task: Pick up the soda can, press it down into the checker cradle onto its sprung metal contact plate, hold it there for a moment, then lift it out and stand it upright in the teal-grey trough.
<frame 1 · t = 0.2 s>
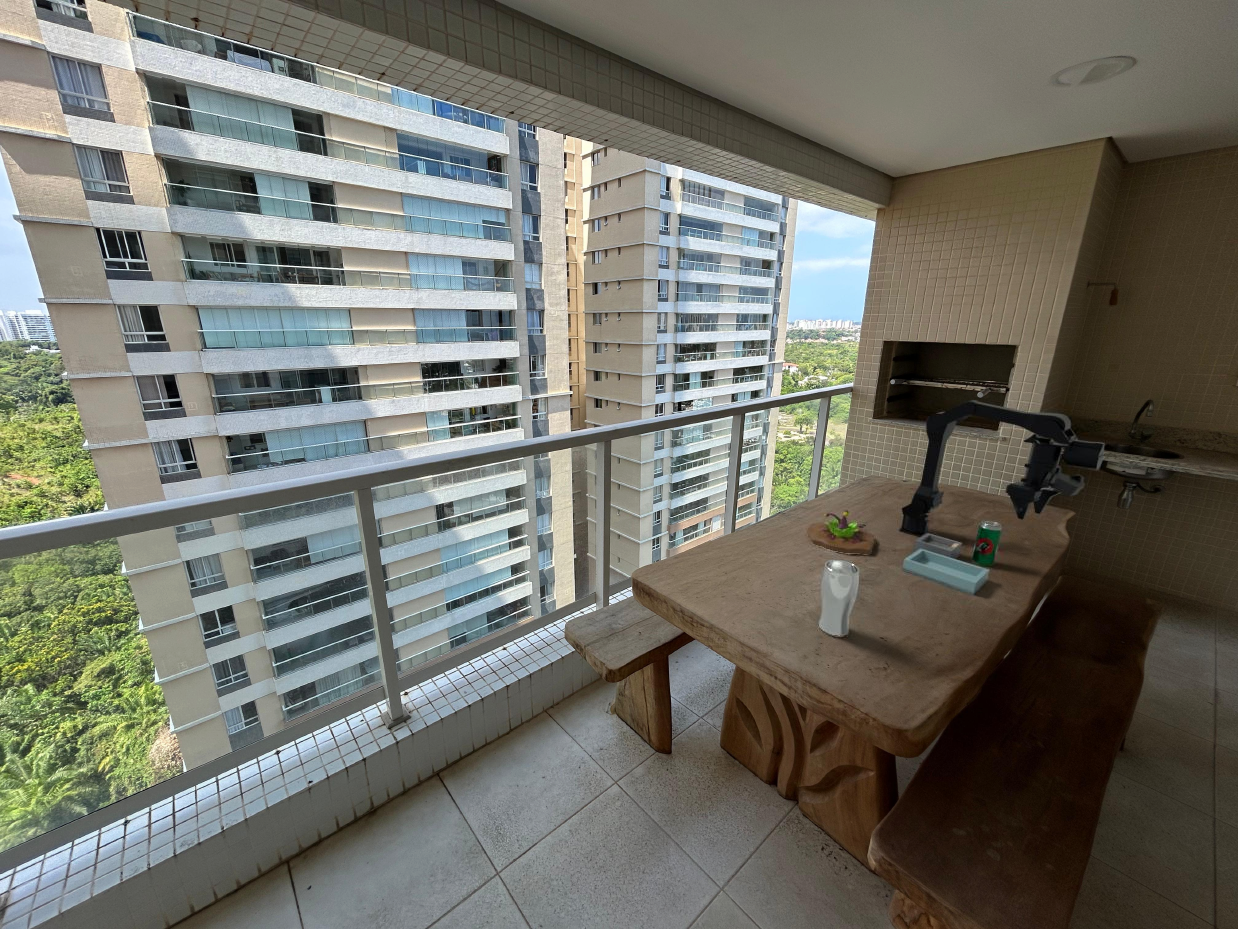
hand: (1029, 516, 124), 14 cm above the table, tool pointing down, fingers open, 9 cm apart
trough: (943, 575, 121), on the table
contact plate: (937, 548, 133), point 2 cm above the table, slide at 0.0 cm
beer glass: (833, 630, 99), on the table
checker cradle: (936, 554, 133), on the table
plant: (840, 542, 143), on the table
soda can: (982, 563, 128), on the table
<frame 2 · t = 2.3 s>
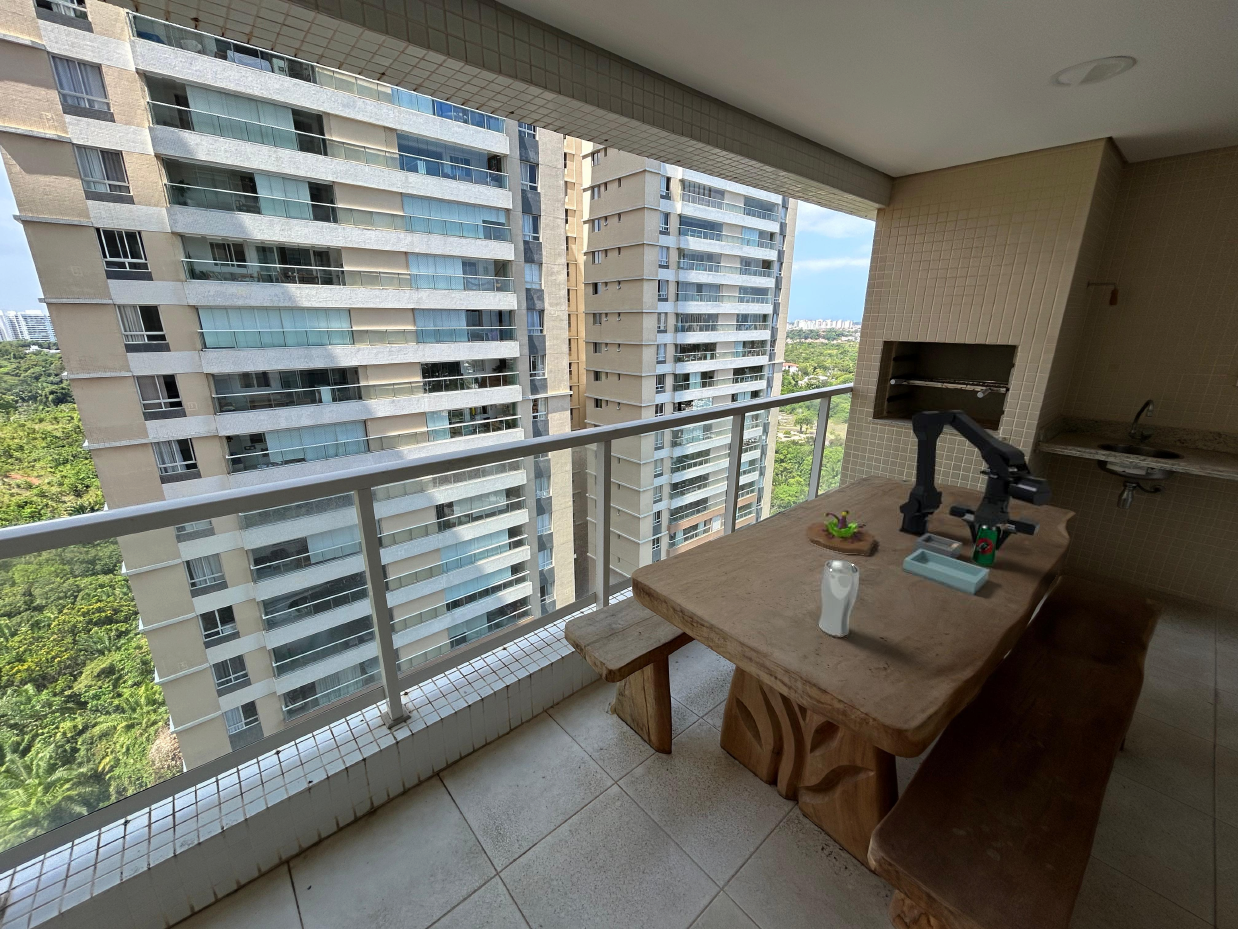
hand: (985, 546, 127), 5 cm above the table, tool pointing down, fingers closed on soda can, 5 cm apart
soda can: (982, 563, 128), on the table, touching gripper
everything else where it was.
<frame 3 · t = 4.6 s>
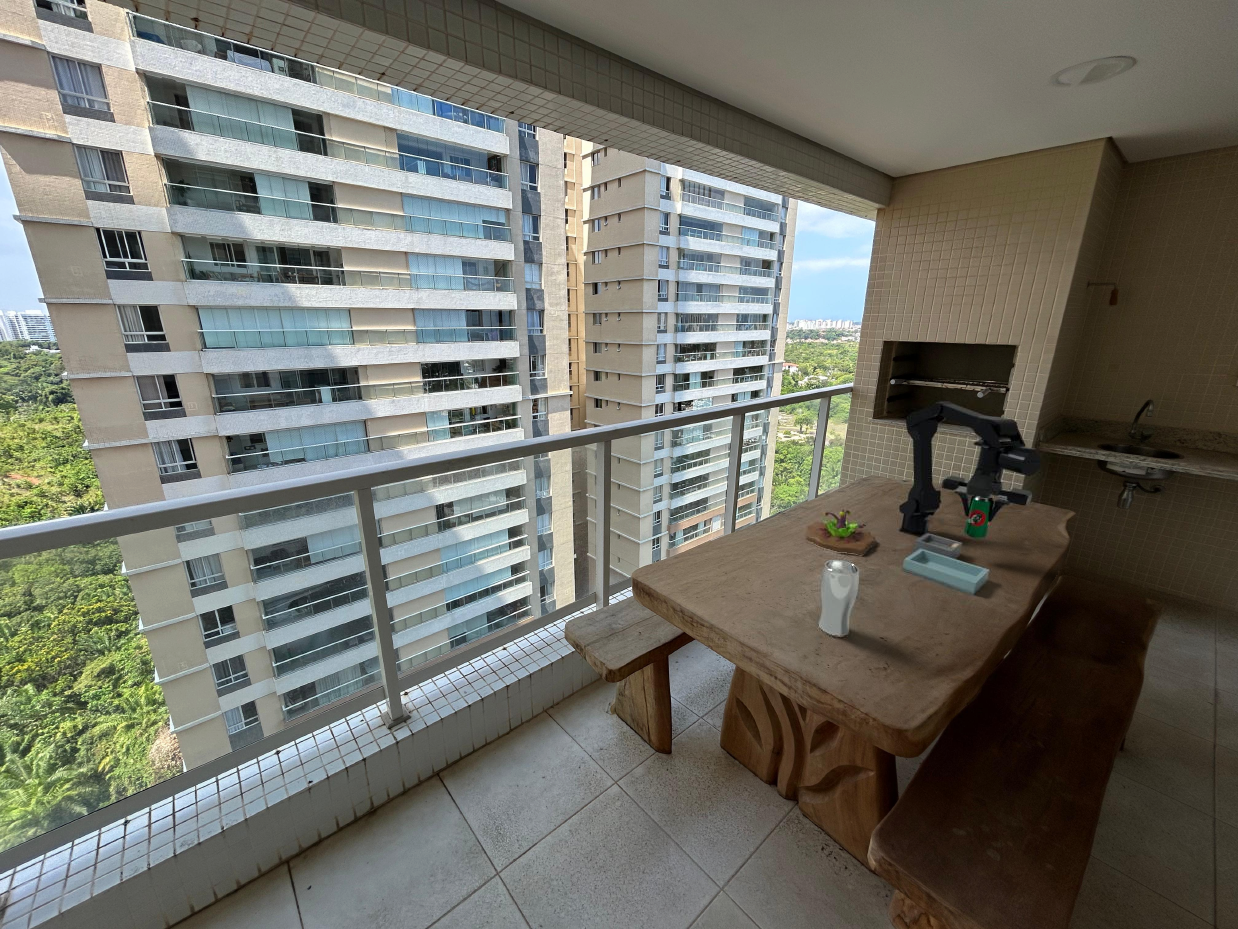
hand: (978, 518, 126), 13 cm above the table, tool pointing down, fingers closed on soda can, 5 cm apart
soda can: (974, 536, 128), point 7 cm above the table, touching gripper
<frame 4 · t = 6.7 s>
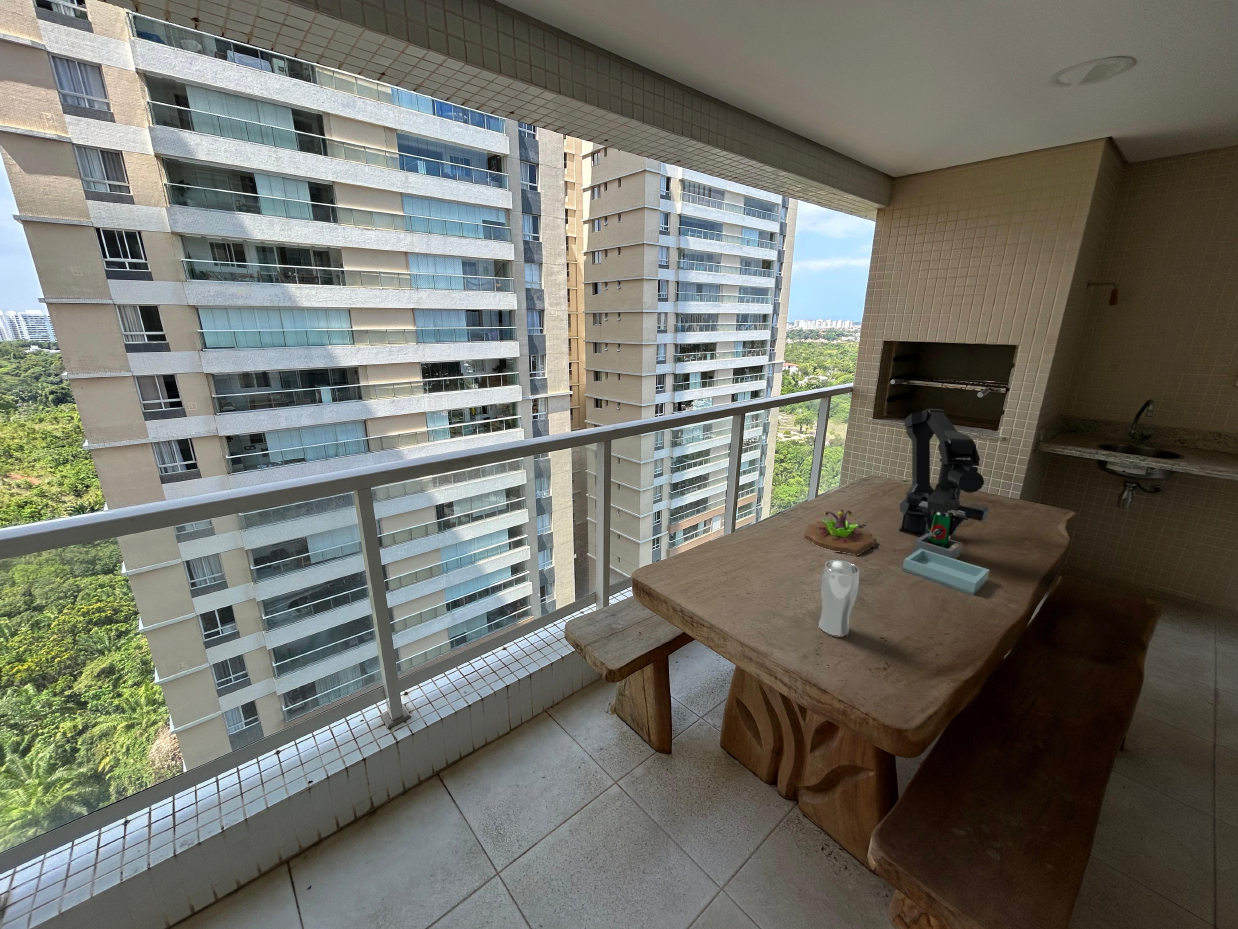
hand: (940, 532, 131), 7 cm above the table, tool pointing down, fingers closed on soda can, 5 cm apart
contact plate: (936, 551, 133), point 1 cm above the table, slide at -0.7 cm, touching soda can
soda can: (937, 549, 133), point 2 cm above the table, touching contact plate, gripper
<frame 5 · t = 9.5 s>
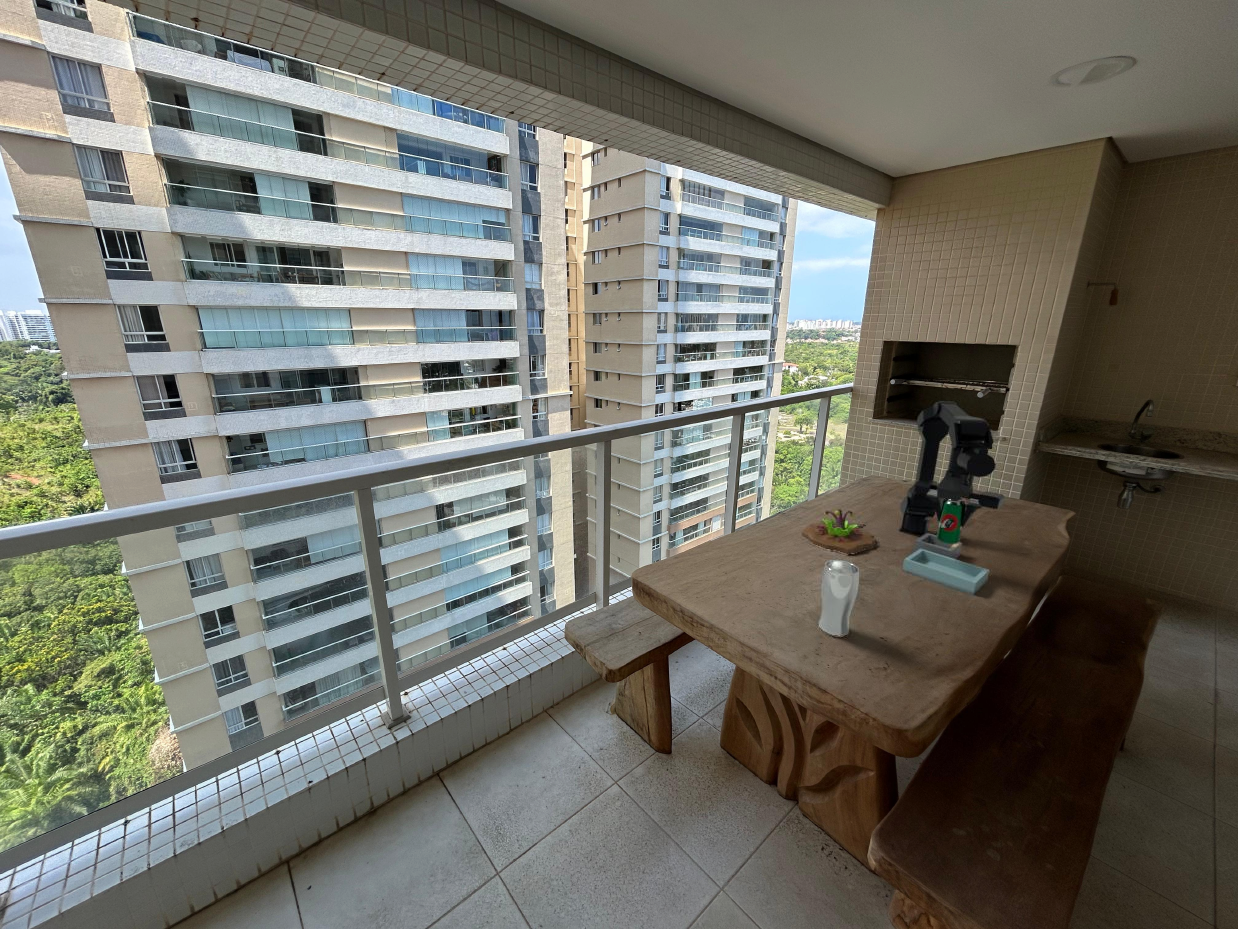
hand: (950, 523, 121), 13 cm above the table, tool pointing down, fingers closed on soda can, 5 cm apart
contact plate: (936, 551, 133), point 1 cm above the table, slide at -0.7 cm
soda can: (947, 541, 122), point 8 cm above the table, touching gripper
when the fingers open (7 cm above the table, at t = 11.7 s): soda can drops 1 cm, resting on trough.
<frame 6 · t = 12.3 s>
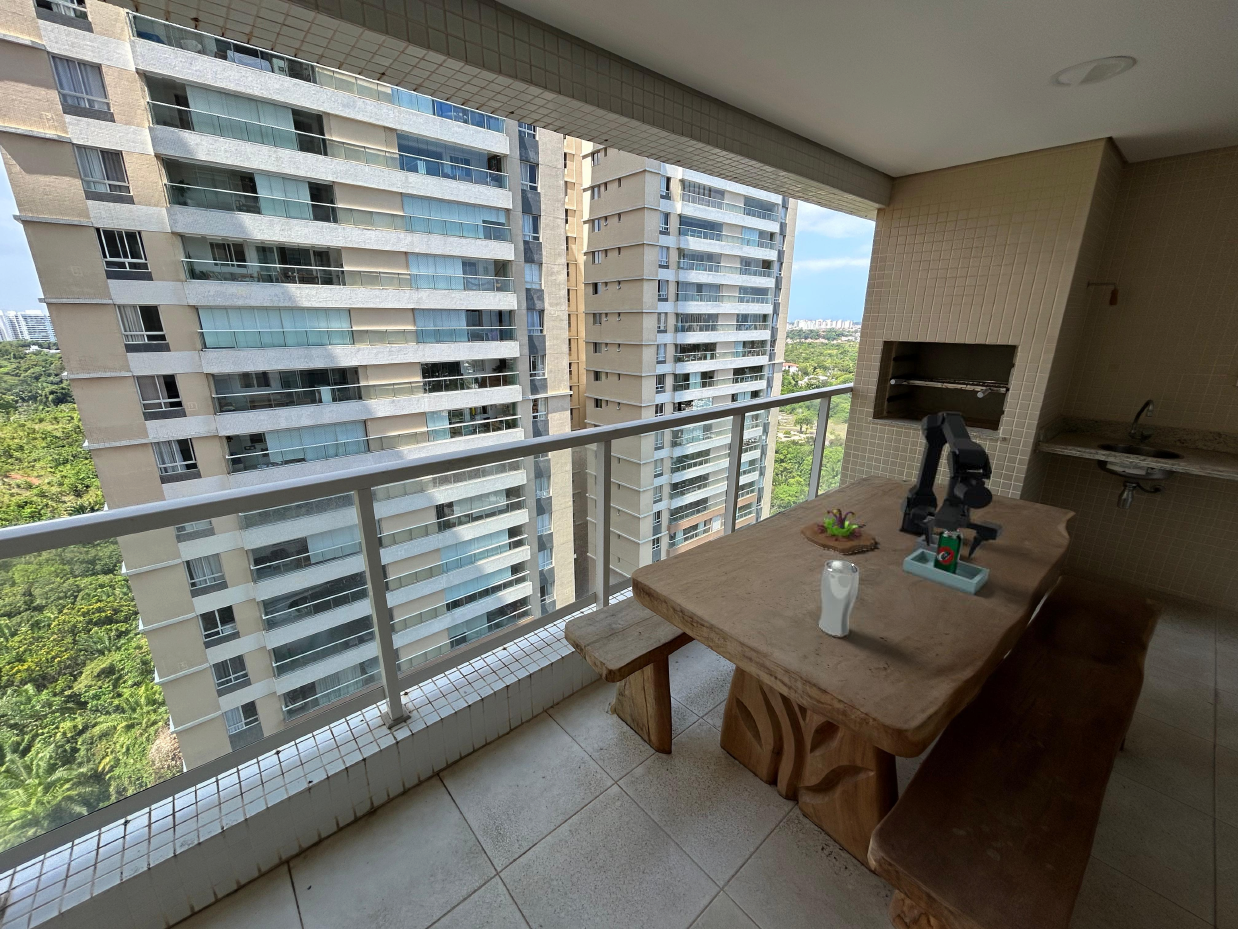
hand: (948, 551, 119), 7 cm above the table, tool pointing down, fingers open, 9 cm apart
soda can: (943, 573, 121), point 1 cm above the table, touching trough
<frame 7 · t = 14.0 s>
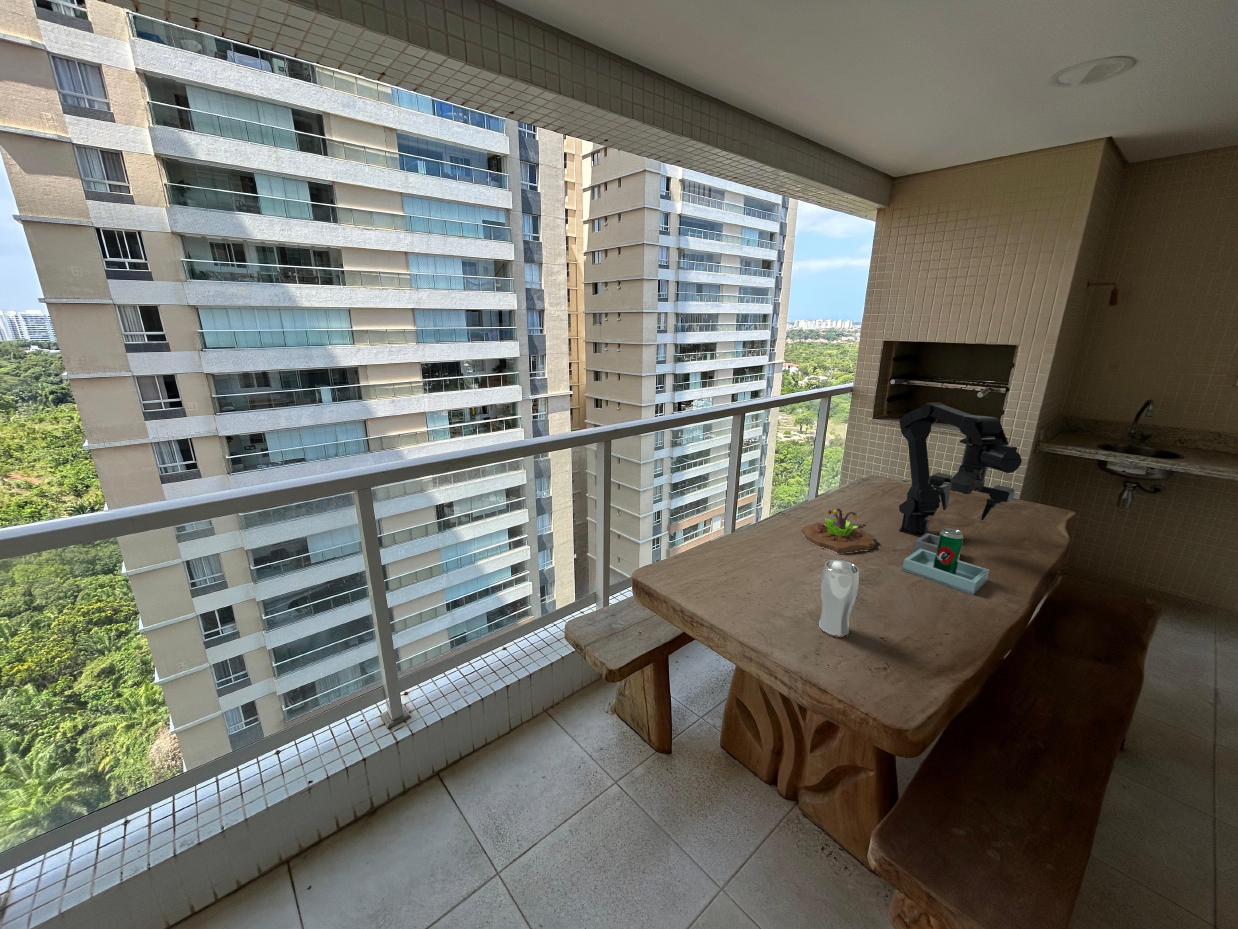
hand: (963, 514, 129), 13 cm above the table, tool pointing down, fingers open, 9 cm apart
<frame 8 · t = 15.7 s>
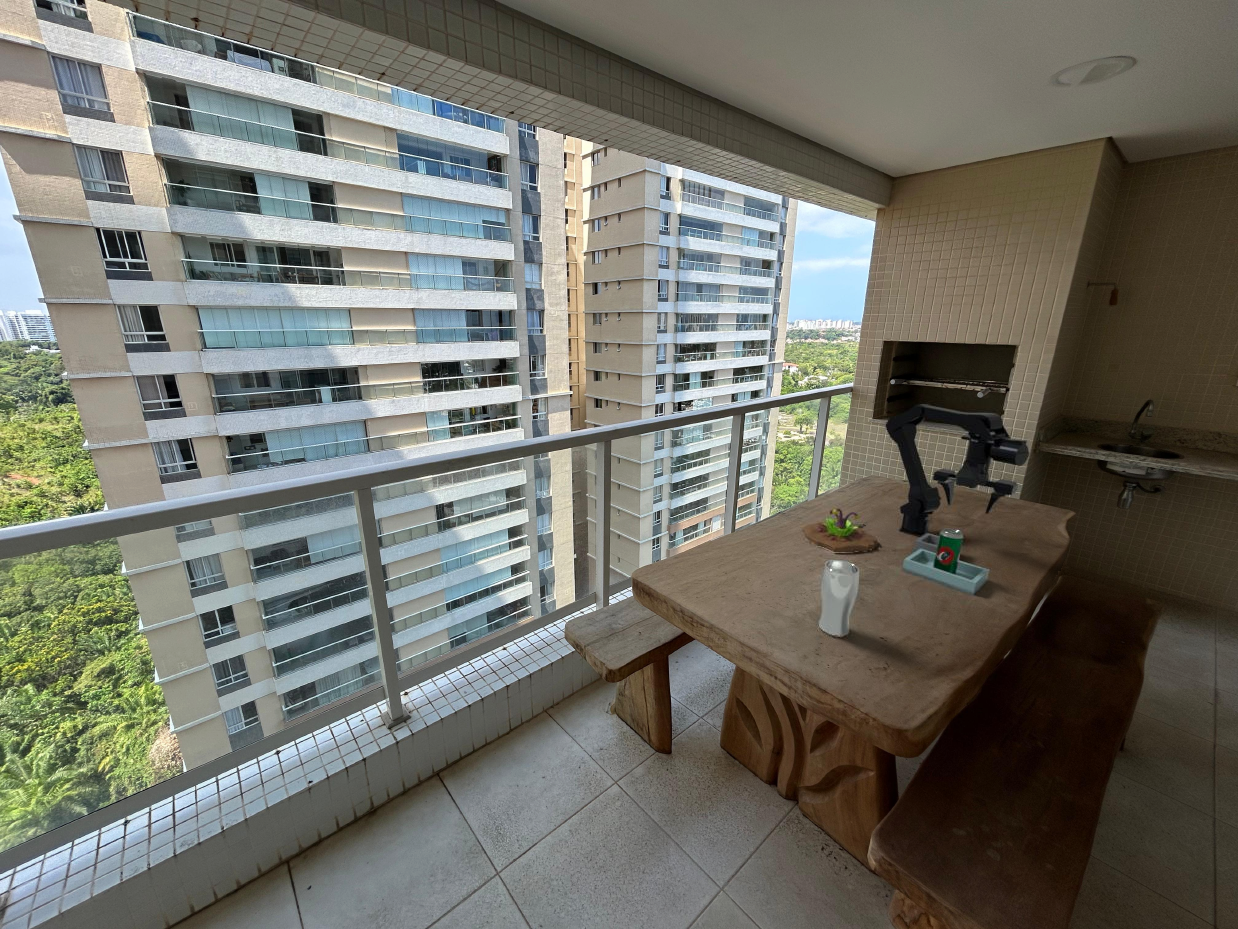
hand: (967, 509, 133), 13 cm above the table, tool pointing down, fingers open, 9 cm apart
at the end: soda can inside the target area on the trough (0.1 cm from its centre), point 0.6 cm above the trough's base; soda can tilted 0°; the gripper is holding nothing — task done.
